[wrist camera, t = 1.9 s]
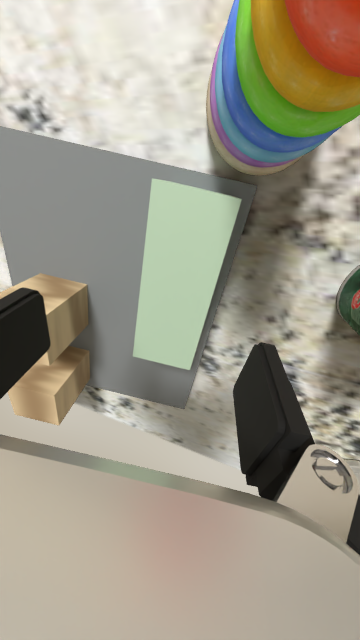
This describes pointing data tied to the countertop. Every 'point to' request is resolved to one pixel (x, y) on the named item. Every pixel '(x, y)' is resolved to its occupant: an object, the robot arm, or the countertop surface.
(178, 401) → the mat
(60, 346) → the pillar
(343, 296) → the canned tomato
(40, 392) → the pillar
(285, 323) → the countertop surface
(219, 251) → the beam
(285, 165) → the stacking toy
